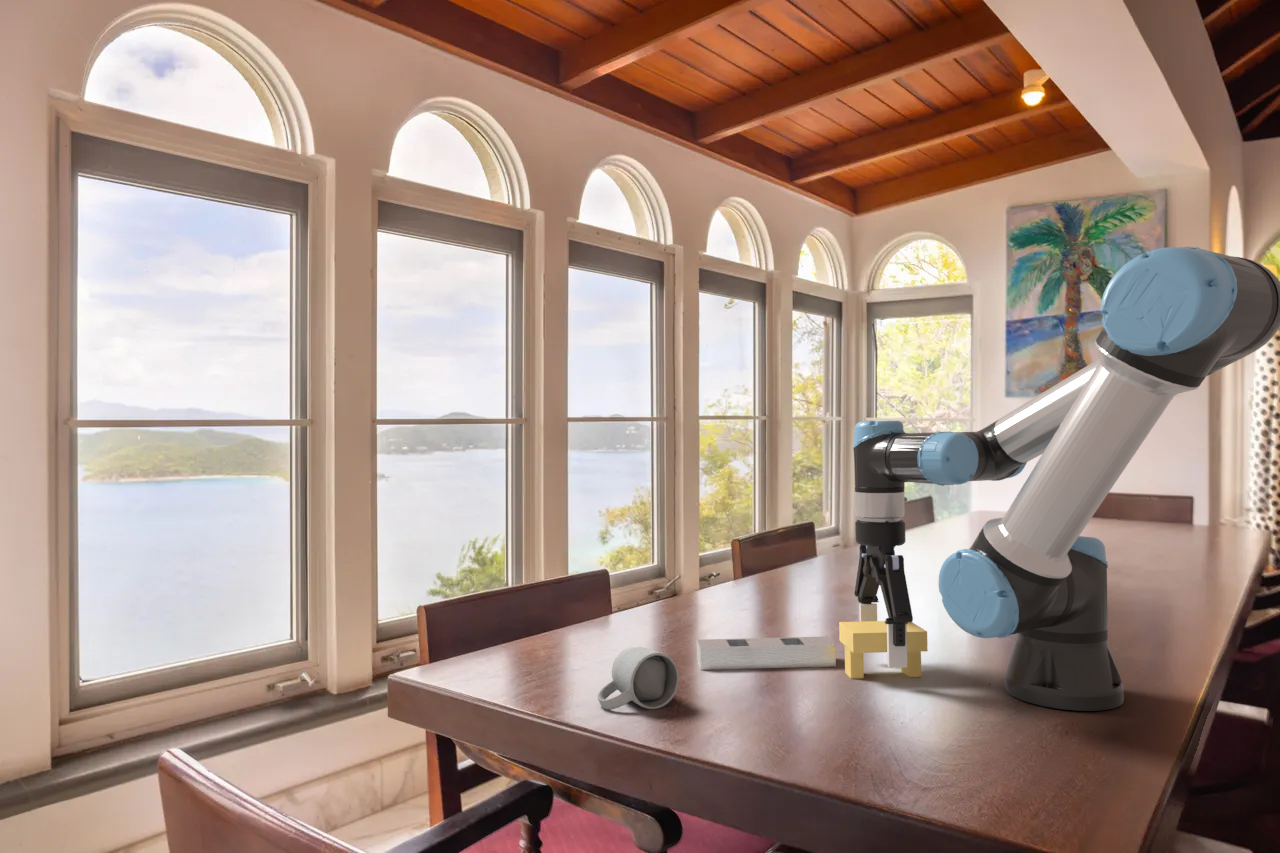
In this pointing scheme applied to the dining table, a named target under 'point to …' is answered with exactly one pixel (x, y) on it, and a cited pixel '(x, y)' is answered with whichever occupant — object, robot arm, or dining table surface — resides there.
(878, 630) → the yellow bridge
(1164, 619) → the dining table surface
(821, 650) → the rail
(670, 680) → the ceramic mug
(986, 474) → the robot arm
